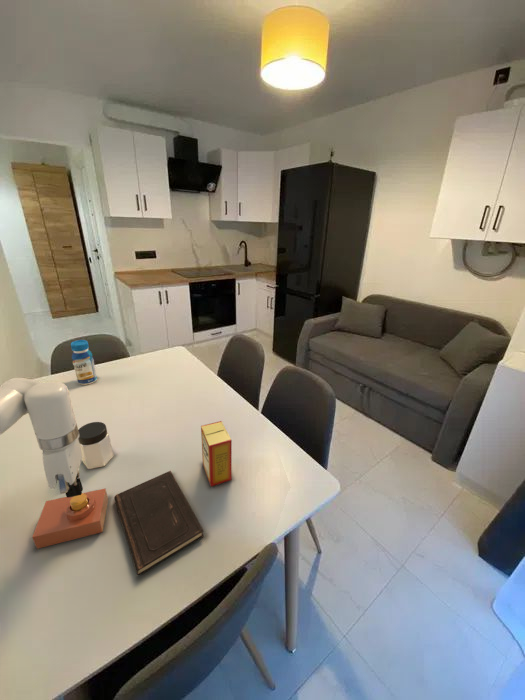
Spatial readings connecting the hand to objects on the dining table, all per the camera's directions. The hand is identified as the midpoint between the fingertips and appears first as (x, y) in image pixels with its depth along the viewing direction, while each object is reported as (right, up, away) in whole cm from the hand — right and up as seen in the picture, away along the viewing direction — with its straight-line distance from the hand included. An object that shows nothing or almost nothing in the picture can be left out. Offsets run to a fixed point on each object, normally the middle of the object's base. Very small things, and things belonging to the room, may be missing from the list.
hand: (75, 493), depth 72 cm
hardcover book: (+19, -9, +5) cm, 21 cm away
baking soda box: (+32, -3, +20) cm, 38 cm away
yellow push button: (0, -4, +2) cm, 4 cm away
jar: (-7, 0, +23) cm, 24 cm away
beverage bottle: (-37, +21, +67) cm, 80 cm away
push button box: (-2, -9, +3) cm, 10 cm away
